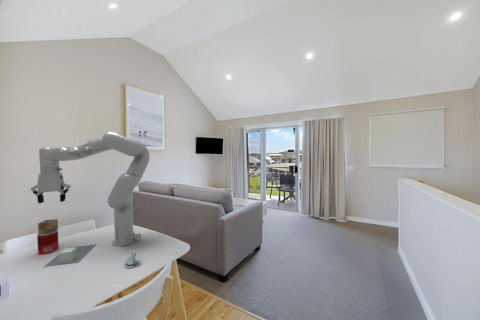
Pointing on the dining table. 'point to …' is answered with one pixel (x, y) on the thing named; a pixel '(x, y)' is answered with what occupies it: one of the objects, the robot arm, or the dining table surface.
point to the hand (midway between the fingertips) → (52, 202)
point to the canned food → (47, 242)
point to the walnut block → (47, 226)
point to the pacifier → (131, 260)
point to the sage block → (67, 255)
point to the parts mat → (81, 253)
